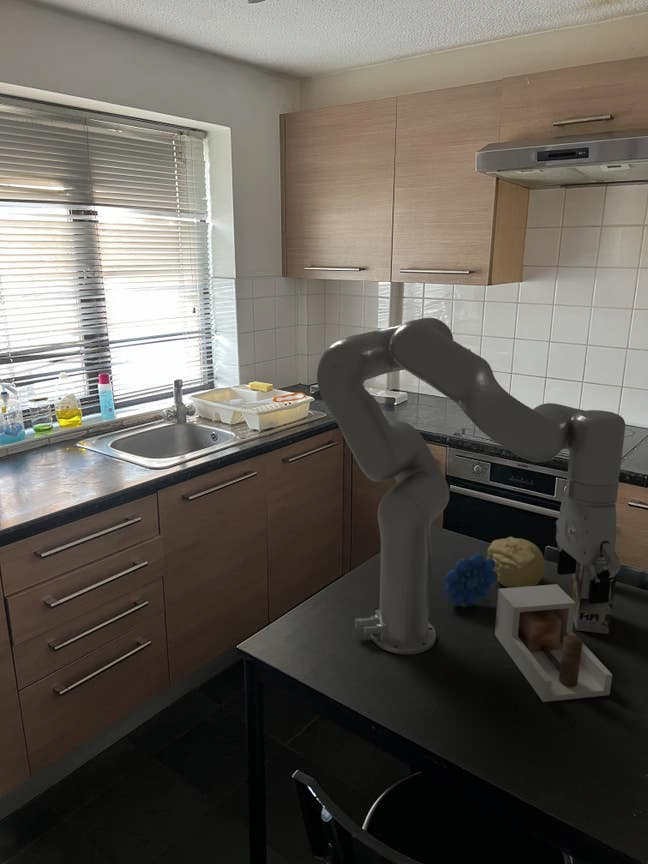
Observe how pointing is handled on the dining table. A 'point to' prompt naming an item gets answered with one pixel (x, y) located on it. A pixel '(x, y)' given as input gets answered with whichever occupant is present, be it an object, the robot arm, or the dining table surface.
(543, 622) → the wooden mallet
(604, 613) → the coffee box
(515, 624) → the shelf lane
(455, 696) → the dining table surface
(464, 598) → the grapes
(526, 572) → the sculpture
